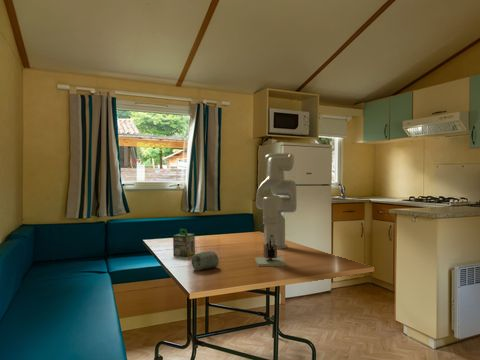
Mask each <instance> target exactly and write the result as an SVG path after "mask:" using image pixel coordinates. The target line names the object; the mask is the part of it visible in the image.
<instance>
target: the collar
mask: <svg viewBox="0 0 480 360" xmlns="http://www.w3.org/2000/svg"><path fill="white" fill-rule="evenodd" d="M268 249H269V246H268V244H266V243H263V257H265V258H277V257H278V249H277V246H276V245H275V244H274V257H268Z"/></svg>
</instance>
